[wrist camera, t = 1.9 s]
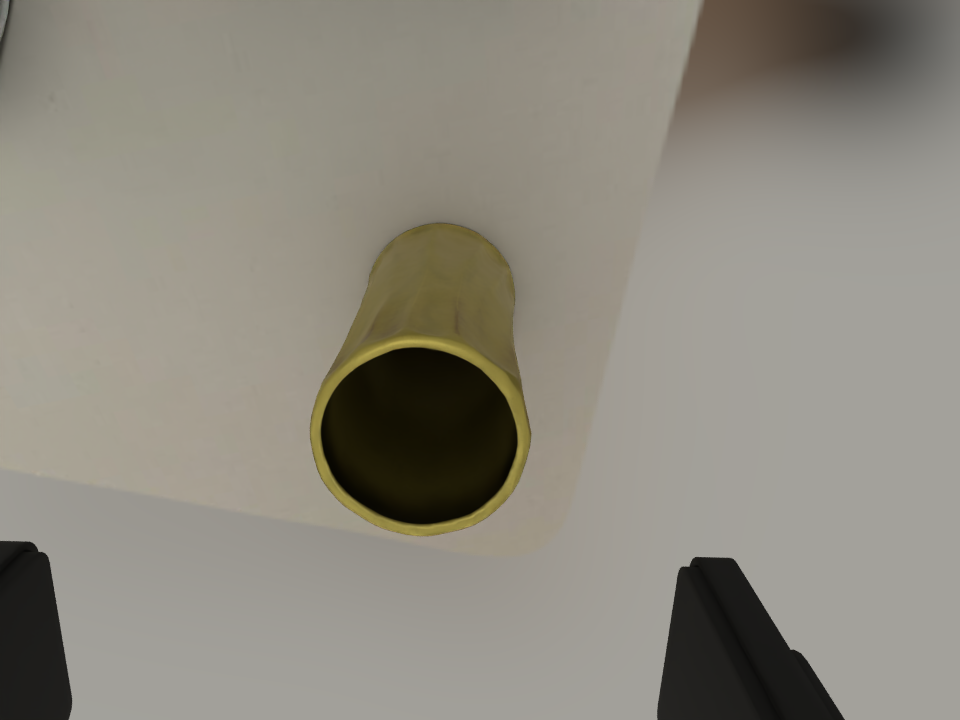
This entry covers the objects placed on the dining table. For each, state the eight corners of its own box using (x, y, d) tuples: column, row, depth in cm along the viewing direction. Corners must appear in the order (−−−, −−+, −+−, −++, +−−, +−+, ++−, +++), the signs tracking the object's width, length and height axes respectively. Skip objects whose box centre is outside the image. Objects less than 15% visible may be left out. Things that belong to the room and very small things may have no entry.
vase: (487, 382, 32) (500, 581, 18) (351, 340, 31) (261, 514, 18) (534, 250, 30) (588, 363, 17) (391, 202, 29) (325, 280, 16)
